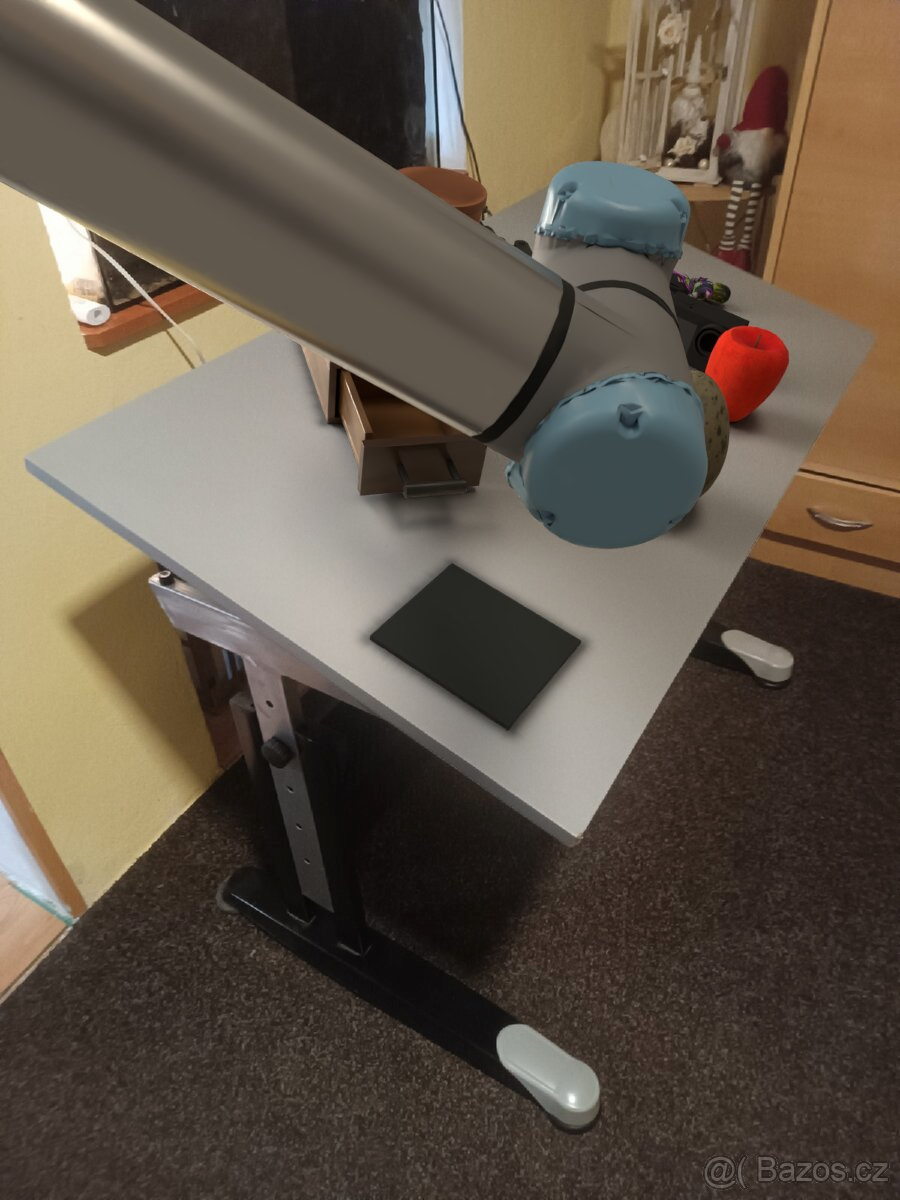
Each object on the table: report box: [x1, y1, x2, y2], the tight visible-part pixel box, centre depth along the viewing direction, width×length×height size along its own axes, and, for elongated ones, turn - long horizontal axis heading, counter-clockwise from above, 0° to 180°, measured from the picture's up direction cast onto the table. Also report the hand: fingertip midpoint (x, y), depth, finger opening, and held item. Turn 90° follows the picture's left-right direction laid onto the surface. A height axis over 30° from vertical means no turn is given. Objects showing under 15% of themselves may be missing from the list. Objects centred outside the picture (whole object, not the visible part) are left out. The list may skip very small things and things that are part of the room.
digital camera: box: [671, 291, 750, 373], centre depth 108 cm, size 10×5×7 cm, turn 55°
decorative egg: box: [690, 370, 731, 499], centre depth 83 cm, size 11×11×15 cm
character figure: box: [669, 269, 732, 305], centre depth 123 cm, size 9×4×16 cm
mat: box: [369, 562, 582, 731], centre depth 71 cm, size 14×12×1 cm
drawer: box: [335, 368, 488, 499], centre depth 84 cm, size 20×12×6 cm, turn 17°
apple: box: [705, 325, 790, 423], centre depth 99 cm, size 9×9×11 cm
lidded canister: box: [396, 166, 488, 224], centre depth 72 cm, size 8×8×15 cm
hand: (416, 216), depth 73 cm, fingers closed on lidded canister, 8 cm apart
